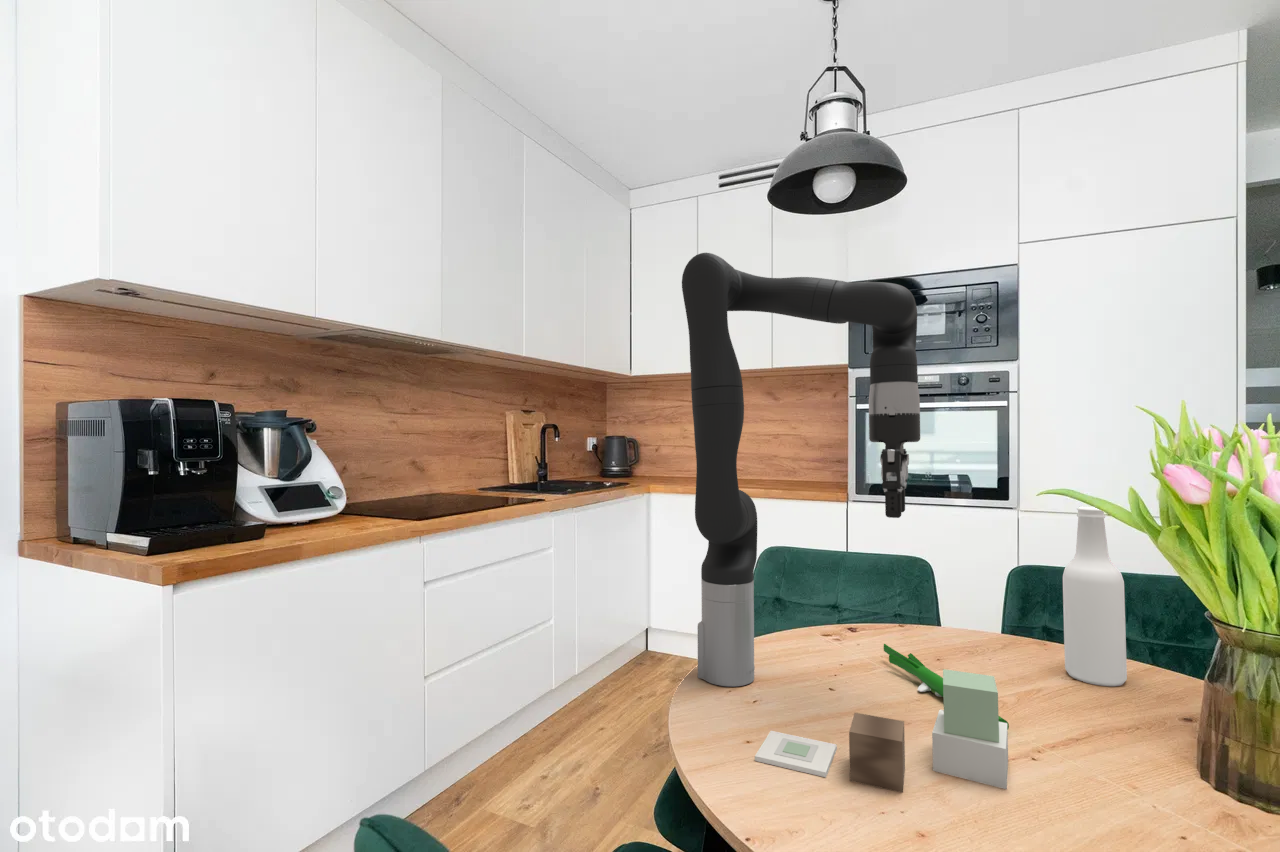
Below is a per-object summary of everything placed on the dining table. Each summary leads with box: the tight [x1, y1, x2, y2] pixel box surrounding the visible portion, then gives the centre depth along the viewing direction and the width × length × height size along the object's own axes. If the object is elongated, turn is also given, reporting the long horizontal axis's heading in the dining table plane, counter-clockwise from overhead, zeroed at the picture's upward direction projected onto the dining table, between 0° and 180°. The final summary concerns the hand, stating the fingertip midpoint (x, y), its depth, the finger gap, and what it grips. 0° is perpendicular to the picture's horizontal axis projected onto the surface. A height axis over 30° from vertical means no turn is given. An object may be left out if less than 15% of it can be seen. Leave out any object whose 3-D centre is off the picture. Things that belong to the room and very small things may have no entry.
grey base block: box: [931, 709, 1009, 790], centre depth 78 cm, size 8×8×5 cm
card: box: [754, 730, 838, 778], centre depth 81 cm, size 9×8×1 cm
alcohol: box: [1062, 506, 1128, 687], centre depth 108 cm, size 9×9×30 cm
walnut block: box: [848, 712, 906, 793], centre depth 76 cm, size 6×6×6 cm
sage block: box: [942, 669, 1000, 742], centre depth 79 cm, size 6×6×6 cm
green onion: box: [883, 643, 1010, 730], centre depth 102 cm, size 5×3×30 cm
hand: (895, 514), depth 97 cm, fingers open, 8 cm apart
